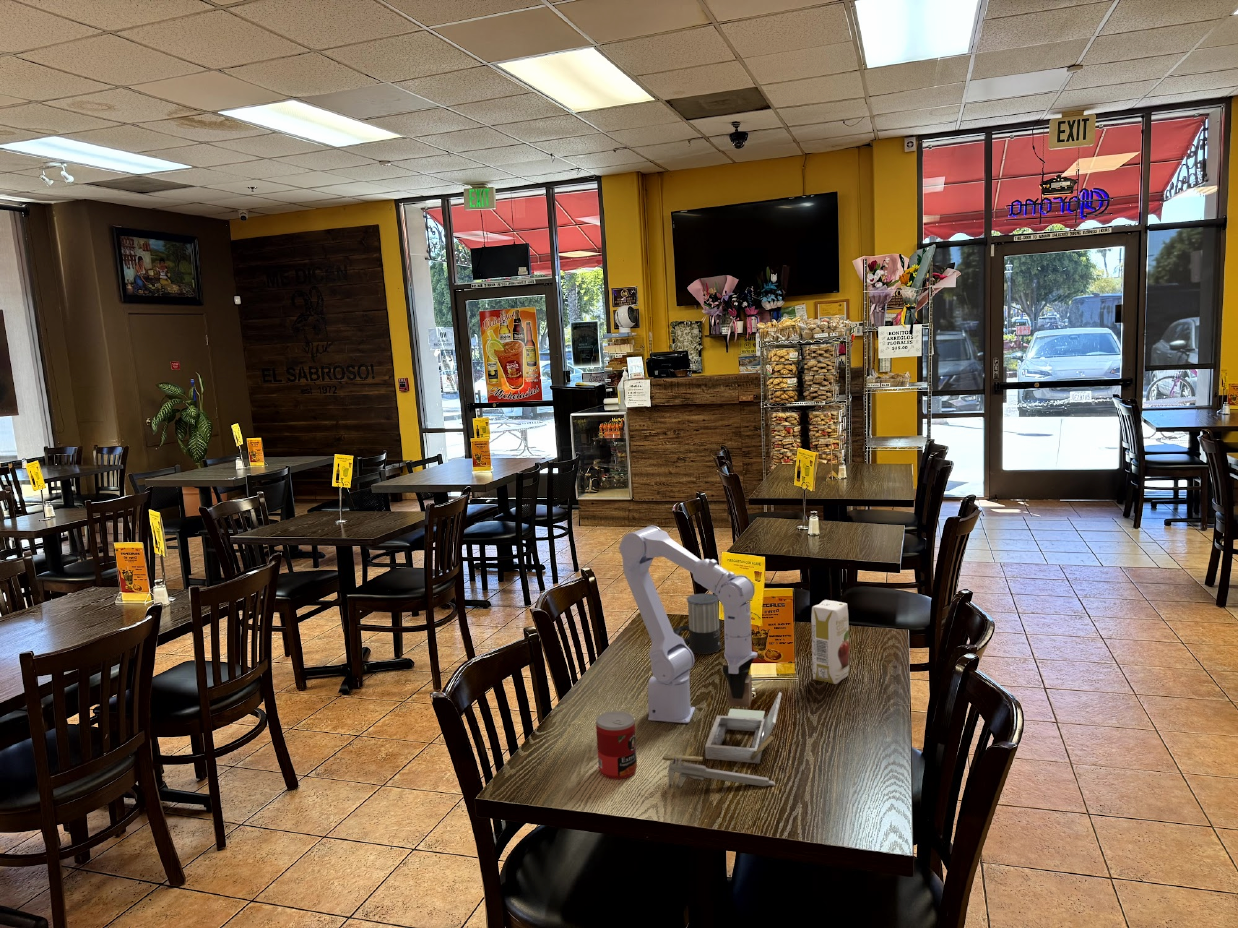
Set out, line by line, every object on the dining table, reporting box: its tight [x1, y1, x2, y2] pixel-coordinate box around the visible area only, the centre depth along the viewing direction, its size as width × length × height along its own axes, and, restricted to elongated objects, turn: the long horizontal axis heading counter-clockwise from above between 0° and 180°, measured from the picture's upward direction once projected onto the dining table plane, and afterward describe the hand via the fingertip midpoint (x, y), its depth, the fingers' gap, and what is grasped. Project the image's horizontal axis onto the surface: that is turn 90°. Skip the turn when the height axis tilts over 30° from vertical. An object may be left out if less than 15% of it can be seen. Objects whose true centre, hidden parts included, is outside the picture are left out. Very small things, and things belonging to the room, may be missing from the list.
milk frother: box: [673, 593, 722, 655], centre depth 236 cm, size 14×16×15 cm
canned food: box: [595, 710, 638, 780], centre depth 167 cm, size 8×8×11 cm
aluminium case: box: [704, 714, 765, 764], centre depth 176 cm, size 11×15×3 cm
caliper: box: [667, 756, 776, 789], centre depth 160 cm, size 20×1×6 cm, turn 87°
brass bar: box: [663, 753, 704, 762], centre depth 171 cm, size 8×1×1 cm, turn 76°
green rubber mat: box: [727, 708, 766, 719], centre depth 188 cm, size 8×8×1 cm
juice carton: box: [810, 599, 850, 685], centre depth 208 cm, size 8×9×19 cm
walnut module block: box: [727, 674, 753, 708], centre depth 181 cm, size 4×4×6 cm
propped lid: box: [750, 691, 783, 761], centre depth 174 cm, size 5×16×8 cm, turn 164°
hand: (739, 693), depth 181 cm, fingers closed on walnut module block, 4 cm apart
